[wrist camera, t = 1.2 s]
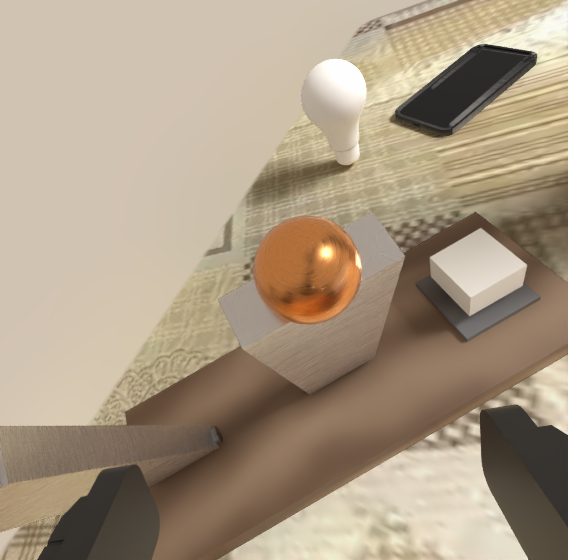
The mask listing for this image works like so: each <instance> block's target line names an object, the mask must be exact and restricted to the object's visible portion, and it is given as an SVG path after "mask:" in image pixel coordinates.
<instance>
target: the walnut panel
mask: <svg viewBox="0 0 568 560" xmlns="http://www.w3.org/2000/svg"><path fill="white" fill-rule="evenodd" d="M480 228H482V229H483V230H484V231H485V232H487V233H488V234H489V235H490V236H492V237H493V238H494V239H495V240H497V241H498V242H499V243H500V244H502V245H503V246H504V247H505V248H507V249H508V250H509V251H510V252H512V253H513V254H514V255H515V256H517V257H518V258H519V259H520V260H522V261H523V262H524V263H525V264H527V269H526V273H525V278H524V282H523V286H521V287H520V288H518V289H516V290H514V291H513V292H511V293H509V294H508V295H506V296H504V297H502V298H501V299H499V300H497V301H495V302H494V303H492V304H490V305H489V306H487V307H485V308H483V309H482V310H480V311H478V312H476V313H475V314H473V315H471V316H469V315H468V314H467V313H466V312H465V311H464V310H463V309H462V308H461V307H460V306H459V305H458V304H457V303H456V302H455V301H454V300H453V299H452V298H451V297H450V296H449V295H448V294H447V293H446V292H445V291H444V290H443V289H442V288H441V287H440V285H439V284H438V283H437V282H436V281H435V280H434V279H433V278H432V277H431V270H430V257H431V256H433V255H435V254H436V253H438V252H440V251H441V250H443V249H445V248H447V247H448V246H450V245H452V244H454V243H455V242H457V241H459V240H461V239H462V238H464V237H466V236H468V235H469V234H471V233H473V232H475V231H476V230H478V229H480ZM403 254H404V255H405V258H404V262H403V265H402V268H401V272H400V275H399V278H398V281H397V285H396V288H395V291H394V295H393V298H392V301H391V304H390V308H389V311H388V314H387V317H386V321H385V324H384V327H383V331H382V334H381V337H380V340H379V344H378V347H377V350H376V354H375V357H374V358H373V359H371V360H369V361H368V362H366V363H364V364H362V365H361V366H359V367H357V368H355V369H354V370H352V371H350V372H349V373H347V374H345V375H343V376H342V377H340V378H338V379H336V380H335V381H333V382H331V383H329V384H328V385H326V386H324V387H323V388H321V389H319V390H317V391H316V392H314V393H312V394H308V393H306V394H304V393H303V391H302V389H301V388H299V387H298V386H296V385H295V384H293V383H292V382H290V381H289V380H287V379H286V378H285V377H283V376H282V375H280V374H279V373H277V372H276V371H274V370H273V369H271V368H270V367H268V366H267V365H265V364H264V363H262V362H261V361H259V360H258V359H256V358H255V357H253V356H252V355H250V354H249V353H247V352H246V351H244V350H243V349H242V347H241V346H240V347H238V348H237V349H235V350H233V351H231V352H230V353H228V354H226V355H224V356H223V357H221V358H219V359H217V360H215V361H214V362H212V363H210V364H208V365H207V366H205V367H203V368H201V369H200V370H198V371H196V372H194V373H193V374H191V375H189V376H187V377H186V378H184V379H182V380H180V381H179V382H177V383H175V384H173V385H172V386H170V387H168V388H166V389H165V390H163V391H161V392H159V393H158V394H156V395H154V396H152V397H151V398H149V399H147V400H145V401H144V402H142V403H140V404H138V405H137V406H135V407H133V408H131V409H130V410H128V411H126V412H125V414H126V421H127V426H135V425H210V427H213V426H217V428H218V429H219V430H220V432H221V435H222V437H223V442H222V443H220V444H219V448H218V449H216V450H214V451H212V452H211V453H209V454H207V455H206V456H204V457H202V458H200V459H199V460H197V461H195V462H193V463H192V464H190V465H188V466H186V467H185V468H183V469H181V470H180V471H178V472H176V473H174V474H173V475H171V476H169V477H167V478H166V479H164V480H162V481H160V482H159V483H157V484H155V485H153V486H150V487H149V490H150V492H151V494H152V497H153V499H154V501H155V504H156V506H157V509H158V512H159V518H160V530H159V537H158V541H157V544H156V547H155V550H154V554H153V557H152V560H217V559H218V558H220V557H222V556H224V555H225V554H227V553H229V552H230V551H232V550H234V549H235V548H237V547H239V546H241V545H242V544H244V543H246V542H247V541H249V540H251V539H253V538H254V537H256V536H258V535H259V534H261V533H263V532H265V531H266V530H268V529H270V528H271V527H273V526H275V525H277V524H278V523H280V522H282V521H283V520H285V519H287V518H288V517H290V516H292V515H294V514H295V513H297V512H299V511H300V510H302V509H304V508H306V507H307V506H309V505H311V504H312V503H314V502H316V501H318V500H319V499H321V498H323V497H324V496H326V495H328V494H330V493H331V492H333V491H335V490H336V489H338V488H340V487H342V486H343V485H345V484H347V483H348V482H350V481H352V480H353V479H355V478H357V477H359V476H360V475H362V474H364V473H365V472H367V471H369V470H371V469H372V468H374V467H376V466H377V465H379V464H381V463H383V462H384V461H386V460H388V459H389V458H391V457H393V456H395V455H396V454H398V453H400V452H401V451H403V450H405V449H406V448H408V447H410V446H412V445H413V444H415V443H417V442H418V441H420V440H422V439H424V438H425V437H427V436H429V435H430V434H432V433H434V432H436V431H437V430H439V429H441V428H442V427H444V426H446V425H448V424H449V423H451V422H453V421H454V420H456V419H458V418H459V417H461V416H463V415H465V414H466V413H468V412H470V411H471V410H473V409H475V408H477V407H478V406H480V405H482V404H483V403H485V402H487V401H489V400H490V399H492V398H494V397H495V396H497V395H499V394H501V393H502V392H504V391H506V390H507V389H509V388H511V387H513V386H514V385H516V384H518V383H519V382H521V381H523V380H524V379H526V378H528V377H530V376H531V375H533V374H535V373H536V372H538V371H540V370H542V369H543V368H545V367H547V366H548V365H550V364H552V363H554V362H555V361H557V360H559V359H560V358H562V357H564V356H566V355H567V354H568V283H567V282H566V281H565V280H563V279H562V278H561V277H559V276H558V275H557V274H556V273H554V272H553V271H552V270H550V269H549V268H548V267H546V266H545V265H544V264H543V263H541V262H540V261H539V260H537V259H536V258H535V257H534V256H532V255H531V254H530V253H528V252H527V251H526V250H524V249H523V248H522V247H521V246H519V245H518V244H517V243H515V242H514V241H513V240H512V239H510V238H509V237H508V236H506V235H505V234H504V233H503V232H501V231H500V230H499V229H497V228H496V227H495V226H493V225H492V224H491V223H490V222H488V221H487V220H486V219H484V218H483V217H482V216H481V215H479V214H478V213H477V212H475V213H473V214H471V215H470V216H468V217H466V218H464V219H463V220H461V221H459V222H457V223H456V224H454V225H452V226H450V227H449V228H447V229H445V230H443V231H442V232H440V233H438V234H436V235H435V236H433V237H431V238H429V239H428V240H426V241H424V242H422V243H421V244H419V245H417V246H415V247H414V248H412V249H410V250H408V251H407V252H405V253H403Z"/></svg>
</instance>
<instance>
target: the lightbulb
mask: <svg viewBox="0 0 568 560" xmlns="http://www.w3.org/2000/svg"><path fill="white" fill-rule="evenodd" d="M366 91H367V89H366V84H365V81H364V78H363V76H362V74H361V73H360V71H359V70H358V69H357V68H356V67H355V66H354V65H353V64H351V63H349V62H348V61H345V60H341V59H330V60H326V61H323V62H321V63H319V64H318V65H316V66H315V67H314V68H313V69H312V70H311V71H310V72H309V73H308V75H307V77H306V79H305V81H304V83H303V86H302V90H301V101H302V107H303V110H304V112H305V113H306V115H307V117H308V118H309V119H310V120H311V121H312V122H313V123H314V124H315V125H316V126H317V127H318V128H319V129H320V130H321V131H322V132H323V133H324V134H325V136H326V138H327V140H328V142H329V145H330V147H331V148H332V149H333V151H334V154H335V157H336V160H337V162H338V163H339V164H341V165H351V164H352V163H354V162H356V161H357V160H358V158H359V156H360V153H359V145H358V141H359V131H358V129H359V120H360V116H361V114H362V111H363V108H364V105H365V102H366Z"/></svg>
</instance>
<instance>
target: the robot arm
mask: <svg viewBox="0 0 568 560" xmlns="http://www.w3.org/2000/svg"><path fill="white" fill-rule="evenodd" d="M480 433H481V459H482V467H483V471H484V475H485V478H486V481H487V484H488V486H489V488H490V491H491V493H492V494H493V496H494V498H495V500H496V502H497V503H498V505H499V507H500V509H501V511H502V512H503V514H504V516H505V518H506V520H507V521H508V523H509V525H510V527H511V529H512V530H513V532H514V534H515V536H516V538H517V539H518V541H519V543H520V545H521V547H522V548H523V550H524V552H525V554H526V556H527V557H528V559H529V560H568V435H567V434H565V433H563V432H562V431H560V430H559V429H557V428H555V427H554V426H552V425H549V426H542V427H537V425H536V424H535V423H534V422H533V421H532V419H531V418H530V417H529V416H528V415H527V413H526V412H525V411H524V410H523V409H522V408H521V407H520V406H519V405H510V406H504V407H498V408H491V409H485V410H482V411H481V413H480ZM159 530H160V518H159V512H158V509H157V506H156V504H155V501H154V499H153V497H152V494H151V492H150V490H149V487H148V485H147V483H146V480H145V478H144V476H143V473H142V471H141V469H140V468H139V466H138V465H136V464H133V465H127V466H120V467H114V468H108V469H104V470H102V471H101V472H100V473H99V475H98V476H97V478H96V480H95V482H94V484H93V486H92V488H91V490H90V491H89V493H88V495H87V496H82V497H80V498H79V499H78V500H77V501H76V502H75V504H74V505H73V506H72V507H71V508H70V509H69V510H68V511H67V512H66V513H65V514H64V515H63V517H62V518H61V519H60V521H59V523H58V524H57V526H56V528H55V530H54V531H53V533H52V535H51V537H50V539H49V540H48V545H47V547H44V549H43V551H42V553H41V554H40V556H39V558H38V560H152V557H153V554H154V550H155V547H156V544H157V541H158V537H159Z"/></svg>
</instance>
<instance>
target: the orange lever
mask: <svg viewBox="0 0 568 560" xmlns="http://www.w3.org/2000/svg"><path fill="white" fill-rule="evenodd" d="M404 258H405V255H404V254H403V252H402V251H401V250H400V248H399V247H398V246H397V244H396V243H395V242H394V240H393V239H392V237H391V236H390V235H389V233H388V232H387V231H386V229H385V228H384V227H383V225H382V224H381V222H380V221H379V220H378V218H377V217H376V216H375V214H374V213H373V212H371V213H369V214H367V215H366V216H364V217H362V218H360V219H359V220H357V221H355V222H353V223H352V224H350V225H348V226H346V227H344V228H343V229H342V228H341V227H340V226H338V225H337V224H335V223H333V222H332V221H329V220H327V219H324V218H320V217H314V216H301V217H295V218H291V219H289V220H286V221H284V222H282V223H280V224H279V225H277V226H276V227H274V228H273V229H272V230H271V231H270V232H269V233H268V234H267V235H266V236H265V237H264V239H263V240H262V242H261V243H260V245H259V247H258V249H257V252H256V255H255V259H254V265H253V275H254V279H253V280H251V281H249V282H247V283H246V284H244V285H242V286H240V287H239V288H237V289H235V290H233V291H231V292H230V293H228V294H226V295H224V296H223V297H221V298H219V299H218V301H219V303H220V305H221V307H222V309H223V311H224V313H225V315H226V317H227V319H228V321H229V323H230V325H231V327H232V329H233V331H234V333H235V335H236V337H237V339H238V341H239V343H240V345H241V347H242V349H243V350H244V351H246V352H247V353H249V354H250V355H252V356H253V357H255V358H256V359H258V360H259V361H261V362H262V363H264V364H265V365H267V366H268V367H270V368H271V369H273V370H274V371H276V372H277V373H279V374H280V375H282V376H283V377H285V378H286V379H287V380H289V381H290V382H292V383H293V384H295V385H296V386H298V387H299V388H301V389H302V391H303V393H304V394H306V393H308V394H312V393H314V392H316V391H317V390H319V389H321V388H323V387H324V386H326V385H328V384H329V383H331V382H333V381H335V380H336V379H338V378H340V377H342V376H343V375H345V374H347V373H349V372H350V371H352V370H354V369H355V368H357V367H359V366H361V365H362V364H364V363H366V362H368V361H369V360H371V359H373V358H374V357H375V354H376V350H377V347H378V344H379V340H380V337H381V334H382V331H383V327H384V324H385V321H386V317H387V314H388V311H389V308H390V304H391V301H392V298H393V295H394V291H395V288H396V285H397V281H398V278H399V275H400V272H401V268H402V265H403V262H404Z"/></svg>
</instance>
